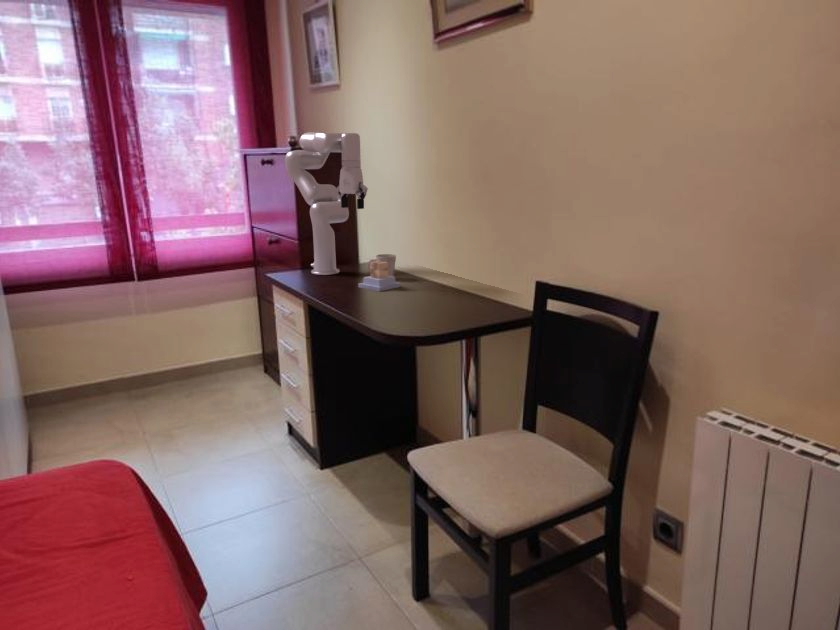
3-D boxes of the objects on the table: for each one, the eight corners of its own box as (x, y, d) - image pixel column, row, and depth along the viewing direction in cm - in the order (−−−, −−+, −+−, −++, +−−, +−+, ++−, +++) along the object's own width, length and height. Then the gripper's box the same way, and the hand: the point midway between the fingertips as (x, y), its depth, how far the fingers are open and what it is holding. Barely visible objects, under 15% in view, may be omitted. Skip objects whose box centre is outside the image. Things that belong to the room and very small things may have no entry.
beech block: (370, 277, 235) (370, 262, 234) (379, 275, 239) (378, 260, 238) (379, 278, 232) (378, 263, 231) (388, 277, 236) (387, 262, 234)
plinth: (358, 287, 236) (358, 277, 235) (379, 282, 245) (379, 273, 244) (379, 291, 228) (379, 281, 227) (400, 286, 237) (400, 276, 236)
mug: (395, 280, 250) (395, 257, 247) (365, 280, 250) (365, 257, 247) (396, 276, 258) (396, 254, 255) (368, 276, 258) (367, 254, 255)
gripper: (330, 165, 240) (331, 207, 244) (359, 165, 229) (360, 209, 233) (344, 165, 245) (345, 206, 250) (372, 165, 234) (373, 208, 239)
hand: (352, 208), depth 241 cm, fingers open, 9 cm apart
